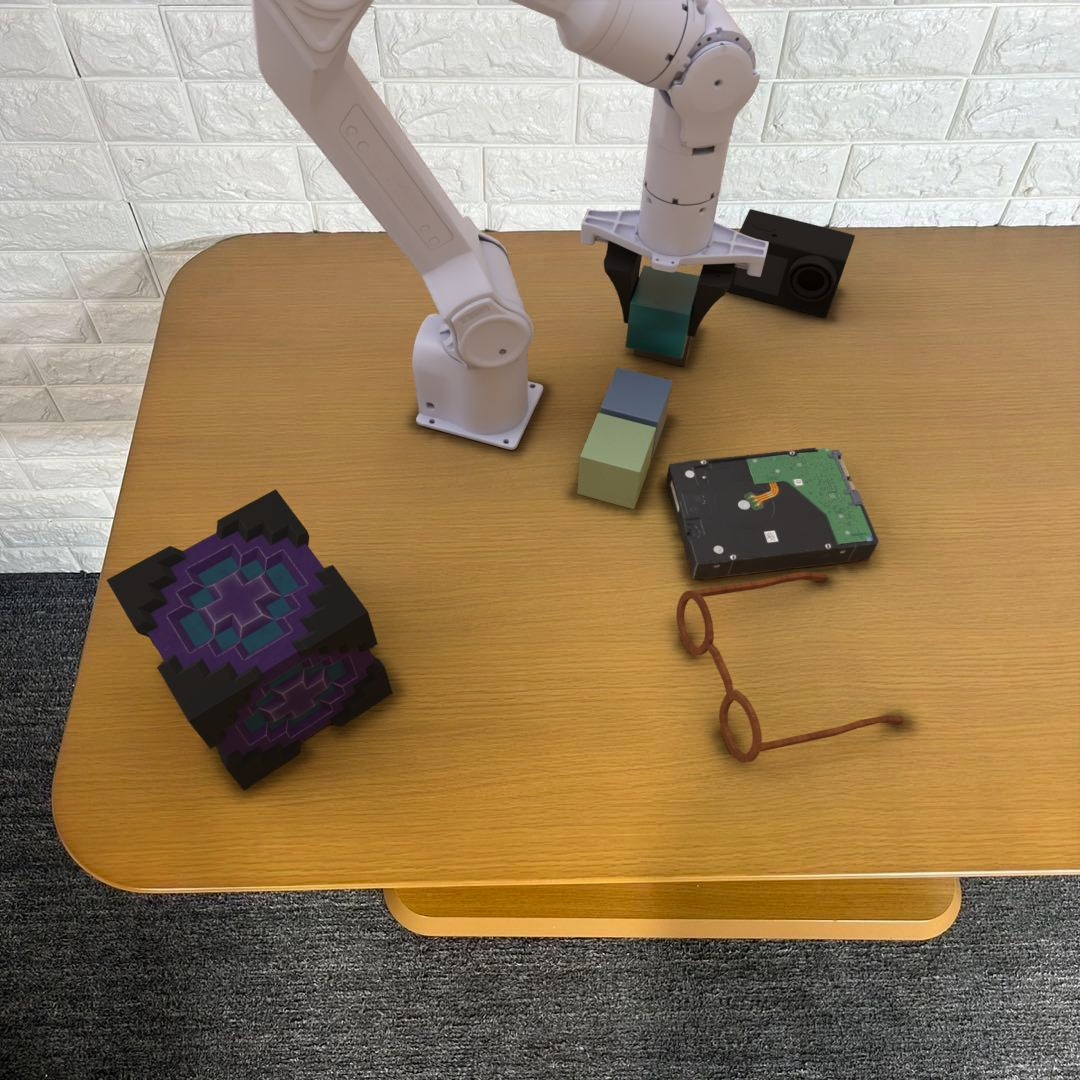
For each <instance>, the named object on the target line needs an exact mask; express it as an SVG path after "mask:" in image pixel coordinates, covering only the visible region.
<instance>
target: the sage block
mask: <svg viewBox="0 0 1080 1080" xmlns="http://www.w3.org/2000/svg"><path fill="white" fill-rule="evenodd" d="M655 432H656V427H652V426H648V425H644V424H640V423H636V422H633V421H629V420H625V419H621V418H617V417H613V416H609V415H605V414H602V413H600V412H597V414H596V416H595V419H594V421H593V423H592V426H591V428H590V431H589V433H588V435H587V438H586V440H585V443H584V446H583V448H582V450H581V452H580V455H579V463H578V464H579V466H578V478H577V495H581V496H584V497H587V498H591V499H595V500H599V501H602V502H606V503H609V504H613V505H616V506H620V507H623V508H627V509H631V510H635V508H636V506H637V503H638V500H639V497H640V495H641V493H642V492H641V491H642V488H643V487H644V486H643V485H644V484H645V480H646V478H647V474H648V472H649V469H650V466H651V461H652V460H651V455H652V449H653V443H654V437H655Z"/></svg>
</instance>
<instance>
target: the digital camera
mask: <svg viewBox="0 0 1080 1080" xmlns="http://www.w3.org/2000/svg"><path fill="white" fill-rule="evenodd" d="M738 232H739V233H741V234H744V235H746V236H749V237H752V238H755V239H758V240H763V241H767V242H769V244H768V249H767V253H766V257H765V261H764V265H763V269H762V273H761V276H760V277H757V276H752V275H748V274H747V270H748V269H743V268H738V267H735V268H734V272H733V276H732V280H731V284H730V287H729V289H728V290H727V292H730V293H733V294H737V295H740V296H744V297H748V298H752V299H755V300H759V301H762V302H765V303H768V304H769V303H770V304H772V305H773V304H774V305H777V306H781V307H784V308H788V309H792V310H795V311H799V312H803V313H807V314H810V315H815V316H818V317H822V318H825V319H826V318H828V316H829V312H830V309H831V307H832V304H833V302H834V299H835V295H836V292H837V290H838V287H839V285H840V282H841V278H842V276H843V273H844V270H845V267H846V264H847V261H848V259H849V255H850V253H851V250H852V247H853V245H854V244H853V243H854V242H855V238H856V235H855V234H852V233H848V232H844V231H841V230H837V229H833V228H830V227H825V226H822V225H819V224H818V225H817V224H814V223H810V222H806V221H801V220H797V219H793V218H789V217H785V216H781V215H777V214H772V213H768V212H764V211H760V210H756V209H752V208H750V209H749V210H748V212H747V214H746V216H745V218H744V220H743V223H742V226H741V228H740V230H739V231H738Z"/></svg>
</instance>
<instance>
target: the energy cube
mask: <svg viewBox="0 0 1080 1080" xmlns="http://www.w3.org/2000/svg"><path fill="white" fill-rule="evenodd" d="M309 544H310V535H309V532H308V530H307V528H306V527H305V526H304V525H303V523H302V521H301V520H300V519H299V518H298V516H297V515H296V514H295V512H294V511H293V510H292V508H291V507H290V506H289V504H288V503H287V502H286V500H285V499H284V498H283V497H282V495H281V494H280V492H279V490H277V489H273V490H271V491H270V492H268V493H266V494H264V495H262V496H260V497H258V498H257V499H254V500H253V501H251V502H249V503H247V504H245V505H243V506H242V507H240V508H237V509H236V510H234V511H232V512H230V513H228V514H226V515H225V516H223V517H221V518H219V519H217V523H216V532H214V533H213V534H211V535H209V536H208V537H205V538H204V539H202V540H200V541H198V542H196V543H194V544H193V545H190V546H189V547H187V548H185V549H183V550H181V549H179V548H176V547H174V546H173V545H168V546H167V547H165V548H163V549H161V550H159V551H158V552H156V553H153V554H152V555H150V556H148V557H146V558H144V559H143V560H141V561H139V562H136V563H135V564H133V565H132V566H130V567H128V568H125V569H124V570H122V571H120V572H118V573H117V574H114V575H113V576H111V577H108V578H107V579H106V582H107V584H108V586H109V587H110V589H111V590H112V593H113V594H114V597H116V599H117V600H118V603H119V604H120V606H121V608H122V609H123V610H122V611H124V613H125V615H126V616H127V618H128V620H129V622H130V623H131V626H132V627H133V629H134V630H135V631H136V632H137V634H138V635H142V636H145V637H147V638H149V640H150V641H151V643H152V645H153V646H154V648H155V649H156V650H157V652H158V653H159V655H160V657H161V659H162V660H163V661H162V662H161V663H160V664H159V665H158V666H157V667H156V668H157V670H158V672H159V674H160V675H161V677H162V679H163V681H164V683H165V684H166V686H167V688H168V689H169V691H170V692H171V694H172V696H173V698H174V699H175V701H176V703H177V705H178V706H179V708H180V710H181V711H182V714H183V715H184V717H185V718H186V720H187V723H189V725H190V726H191V727H192V728H193V730H194V731H195V732H196V733H197V734H198V736H199V737H200V739H202V741H203V742H204V743H205V744H206V746H207V747H208V748H209V749H210V750H212V749H214V748H216V750H217V753H218V755H219V757H220V762H222V765H223V766H224V768H225V769H226V770H227V772H228V773H229V774H230V776H231V777H232V778H233V779H234V780H235V782H236V783H237V784H238V785H239V787H240V788H241V789H242V791H246V790H248V789H249V788H251V787H252V786H254V785H255V784H257V783H258V782H260V781H262V780H263V779H264V778H267V776H269V775H270V774H272V773H274V772H275V771H276V770H278V769H280V768H281V767H282V766H284V765H287V763H289V762H290V761H291V760H293V759H294V758H296V757H298V756H299V755H300V754H301V745H302V743H303V742H304V741H306V740H307V739H308V738H310V737H312V736H313V735H316V734H317V733H318V732H319V731H321V730H322V729H325V728H326V727H327V726H328V725H331V724H333V725H336V726H338V727H341V728H342V727H344V726H345V725H347V724H348V723H349V722H351V721H353V720H354V719H356V718H357V717H359V716H360V715H362V714H363V713H365V712H366V711H368V710H369V709H371V708H373V707H374V706H375V705H377V704H379V703H380V702H381V701H384V700H385V699H386V698H388V697H390V696H391V695H392V694H394V692H393V689H392V686H391V682H390V679H389V675H388V672H387V668H386V666H385V665H384V663H383V662H382V660H380V658H377V657H375V655H374V654H372V649H373V648H374V647H376V646H377V645H379V643H378V639H377V636H376V633H375V629H374V627H373V623H372V620H371V616H370V613H369V611H368V610H367V608H366V607H365V605H364V604H363V603H362V602H361V600H360V598H359V597H358V596H357V595H356V593H355V592H354V591H353V590H352V588H351V587H350V585H349V584H348V582H347V581H346V580H345V579H344V577H343V576H342V575H341V574H340V572H339V571H338V569H337V568H336V567H335V566H334V564H332V565H328V566H325V567H324V566H323V564H322V563H321V562H320V559H318V557H317V556H316V555H315V553H314V552H313V551H312V550H311V548H310V547H309V546H310V545H309Z"/></svg>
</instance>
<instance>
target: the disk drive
mask: <svg viewBox="0 0 1080 1080" xmlns="http://www.w3.org/2000/svg"><path fill="white" fill-rule="evenodd" d="M842 456H843V452H841V451H840V449H834V450H833V449H831V448H830V447H821V448H817V447H807V448H800V449H794V450H793V449H792V450H782V451H773V452H763V453H754V454H746V455H745V454H744V455H736V456H735V455H734V456H726V457H716V458H715V457H714V458H706V459H692V460H685V461H679V462H673V463H669V464H668V468H667V473H666V478H665V479H666V480H665V482H666V485H667V489H668V492H669V495H670V500H671V504H672V509H673V511H674V515H675V518H676V519H675V520H676V522H677V523H676V524H677V526H678V530H679V533H680V536H681V541H682V544H683V545H682V546H683V549H684V551H685V555H686V559H687V561H688V563H689V564H688V565H689V568H690V573H691V577H692V579H693V580H698V579H715V578H723V577H731V576H738V575H740V576H741V575H748V574H756V573H757V574H758V573H766V572H774V571H781V570H785V569H798V568H799V569H800V568H807V567H817V566H825V565H832V564H834V565H835V564H841V563H849V562H856V561H862V560H870V559H871V557H872V556H873V554H874V552H875V551H876V549H877V547H878V545H879V544H880V540H879V538H878V535H877V532H876V531H875V528H874V526H873V524H872V521H871V519H870V517H869V514H868V512H867V510H866V507H865V505H864V501H863V498H862V496H861V494H860V492H859V490H857V488H856V486H855V484H854V482H853V479H851V478H852V476H851V475H850V471H849V470H848V468H847V465H846V463H845V461H844V459H843V458H842Z"/></svg>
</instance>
